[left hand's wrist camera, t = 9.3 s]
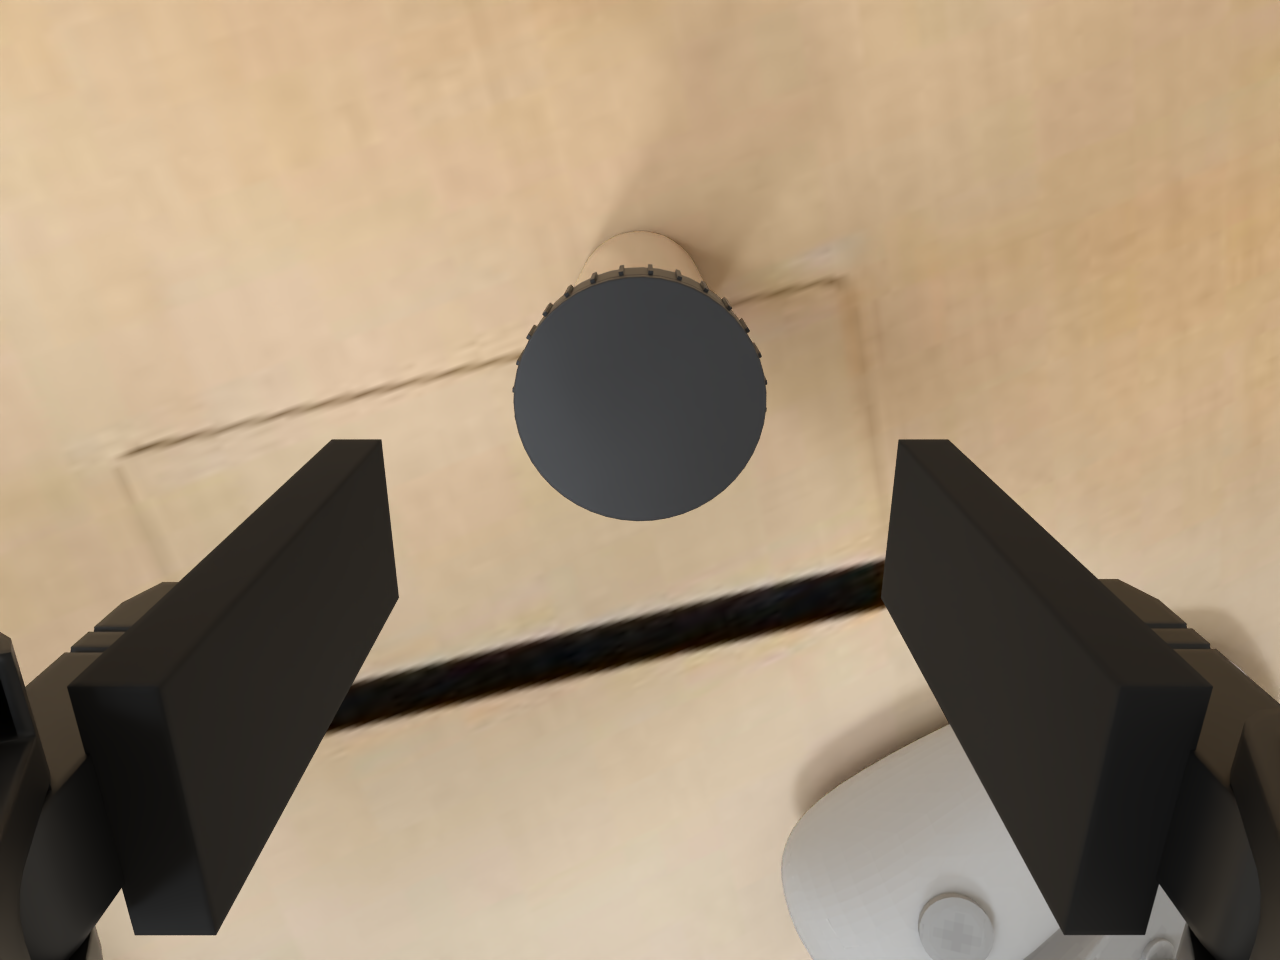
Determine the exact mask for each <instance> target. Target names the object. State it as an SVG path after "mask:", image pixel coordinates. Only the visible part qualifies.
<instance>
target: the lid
mask: <svg viewBox="0 0 1280 960" xmlns="http://www.w3.org/2000/svg"><path fill="white" fill-rule="evenodd" d="M731 309H732V307H731V306H730V304H729V302H728V301H727V299H726V298H725V297H724V298H723V299H720V298H719V297H718V296H717V295H716V294H715V293H713V292H712V291H711V290H709V289H708V287H707V285H706V283H705V282H704V281H701V282H700V283H698V282H696V281H695V280H693V279H691V278H689V277H686V276H683V275H681V272H680V270H677V269H676V270H675V272H671V271H667V270H663V269H657V268H653V265H652V264H648V268H646V267H636V268H624V265H620V267H619V269H618V270H612V271H609V272H605V273H602V274H599V275H598V274H597V272H595V273H592V276H591V278H590V279H588V280H585V281H583V282H581V283H580V284H578V285H577V286H575V287H574V288H573V286H572V285H570V286H569V287H568V288H567V290H566V292H565V294H564V295H563V296H562V297H561V298H560V299H558V300H557V301H556V302H555V303H554V304H553V305H552V304H551V303H549V305H548V306H547V307H546V309H545V311H544V312H543V314H542V315H543V316H544V317H543V318H542V320H541V321H540V323H539V324H538V326H535V325H534V326H533V327H532V329H531V331H530V332H529V334H528V336H527V337H526V338H527V339H528V340H529V341H528V343H527V345H526V347H525V349H524V350H523V352H522V353H521V355H520V357H519V358H518V360H517V363H516V365H519V366H518V369H517V373H516V379H515V384H514V387H513V392H514V412H515V420H516V424H517V428H518V432H519V435H520V438H521V441H522V443H523V446H524V448H525V450H526V452H527V454H528V456H529V458H530V460H531V462H532V463H533V464H534V466H535V467H536V469H537V470H538V471H539V473H540V474H541V475H542V476H543V478H544V479H545V480H546V481H547V482H548V483H549V484H550V485H551V486H552V487H553V488H554V489H556V490H557V491H558V492H559V493H560V494H562V495H563V496H564V497H566V498H567V499H569V500H570V501H572V502H573V503H575V504H577V505H578V506H581V507H583V508H585V509H587V510H589V511H591V512H594V513H597V514H600V515H603V516H606V517H610V518H615V519H620V520H630V521H652V520H659V519H665V518H670V517H673V516H677V515H680V514H684V513H686V512H688V511H691V510H693V509H696V508H698V507H700V506H701V505H703V504H705V503H707V502H708V501H710V500H712V499H713V498H714V497H716V496H717V495H718V494H720V493H721V492H722V491H724V490H725V489H726V488H727V487H728V486H729V485H730V484H731V483H732V482H733V481H734V480H735V479H736V478H737V476H738V475H739V474H740V473H741V471H742V470H743V469H744V468H745V466H746V465H747V463H748V461H749V460H750V458H751V456H752V455H753V453H754V450H755V448H756V446H757V444H758V441H759V439H760V435H761V432H762V428H763V425H764V419H765V412H766V409H767V408H766V385H767V380H766V378H765V376H764V373H763V369H762V365H761V362H760V359H759V358H761V357H762V356H761V353H760V352H759V350H758V348H757V347H756V345H755V343H752V341H751V340H750V338H749V336H748V335H747V333H748V332H749V331H750V330H749V329H748V327H747V325H746V324H745V322H744V321H743V319H742V318H741V319H740V320H739V319H738V318H737V316H736V315H735V314H734V313H733V311H732V310H731Z"/></svg>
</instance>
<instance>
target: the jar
mask: <svg viewBox="0 0 1280 960" xmlns="http://www.w3.org/2000/svg"><path fill="white" fill-rule="evenodd" d="M648 264H652V265H653V268H657V269H663V270H667V271H671V272H675V270H676V269H677V270H680V272H681V275H683V276H686V277H689V278H691V279H693V280H695V281H696V282H698V283H700V282H701V281H703V279H702V277H701V275H700V273H699V271H698V269H697V267H696V265H695V263H694V262H693V260H692V258H691V257H690V256H689V254H688V253H687V252H686V251H685V250H684V249H683V248H682V247H681V246H680V245H679V244H677V243H676V242H675V241H673V240H671V239H669V238H668V237H666V236H663V235H660V234H658V233H653V232H647V231H632V232H627V233H623V234H620V235H617V236H615V237H613V238H610V239H609V240H607V241H606V242H604V243H603V244H601V245H600V246H599V247H598V248H597V249H596V250H595V251H594V252H593V253H592V254H591V255H590V257H589V258H588V260H587V261H586V263H585V265H584V267H583V269H582V271H581V273H580V275H579V277H578V279H577V281H576V283H575V285H574V287H575V286H577V285H578V284H580V283H581V282H583V281H585V280H588V279H590V278H591V276H592V273H595V272H597V274H598V275H599V274H602V273H605V272H609V271H612V270H618V269H619V267H620V265H624V268H636V267H646V268H648ZM574 287H573V288H574Z"/></svg>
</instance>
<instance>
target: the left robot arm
mask: <svg viewBox="0 0 1280 960" xmlns="http://www.w3.org/2000/svg"><path fill="white" fill-rule="evenodd" d="M398 598H399V595H398V586H397V577H396V568H395V559H394V550H393V540H392V531H391V522H390V513H389V504H388V495H387V486H386V477H385V468H384V459H383V450H382V441H381V440H331V441H330V442H329V443H328V444H327V445H325V446H324V447H323V448H322V449H321V450H320V451H319V452H318V453H317V454H316V455H315V456H314V457H313V458H311V459H310V460H309V461H308V462H307V463H306V464H305V465H304V466H303V467H302V468H301V469H300V470H299V471H298V472H296V473H295V474H294V475H293V476H292V477H291V478H290V479H289V480H288V481H287V482H286V483H285V484H284V485H283V486H281V487H280V488H279V489H278V490H277V491H276V492H275V493H274V494H273V495H272V496H271V497H270V498H269V499H267V500H266V501H265V502H264V503H263V504H262V505H261V506H260V507H259V508H258V509H257V510H256V511H255V512H254V513H252V514H251V515H250V516H249V517H248V518H247V519H246V520H245V521H244V522H243V523H242V524H241V525H240V526H238V527H237V528H236V529H235V530H234V531H233V532H232V533H231V534H230V535H229V536H228V537H227V538H226V539H225V540H223V541H222V542H221V543H220V544H219V545H218V546H217V547H216V548H215V549H214V550H213V551H212V552H211V553H210V554H208V555H207V556H206V557H205V558H204V559H203V560H202V561H201V562H200V563H199V564H198V565H197V566H196V567H194V568H193V569H192V570H191V571H190V572H189V573H188V574H187V575H186V576H185V577H184V578H183V579H182V580H181V581H179V582H162V583H160V584H158V585H156V586H154V587H152V588H150V589H148V590H146V591H144V592H142V593H140V594H138V595H136V596H135V597H133V598H131V599H129V600H127V601H125V602H123V603H121V604H120V605H119V606H118V607H117V608H116V609H114V610H113V611H112V612H111V613H110V614H109V615H107V616H106V617H105V618H104V619H103V620H102V621H101V622H99V623H98V624H97V625H96V626H95V627H94V632H88V633H87V634H86V635H84V636H83V637H82V638H81V639H80V640H79V641H78V642H76V643H75V644H74V645H73V646H72V647H71V652H70V653H64V654H63V655H61V656H60V657H59V658H58V659H57V660H56V661H55V662H53V663H52V664H51V665H50V666H49V667H48V668H47V669H45V670H44V671H43V672H42V673H41V674H40V675H38V676H37V677H36V678H35V679H34V680H33V681H32V682H30V683H29V684H28V685H27V686H26V687H25V685H24V682H23V679H22V675H21V672H20V668H19V665H18V662H17V658H16V655H15V651H14V648H13V645H12V641H11V638H9V637H7V636H6V635H4V634H2V633H1V632H0V960H103V957H102V949H101V944H100V940H99V937H98V934H97V930H96V927H95V925H96V923H97V922H98V921H99V919H100V918H101V916H102V915H103V913H104V912H105V911H106V909H107V908H108V906H109V905H110V904H111V902H112V901H113V899H114V898H115V896H116V895H117V894H118V892H119V891H120V889H121V888H122V890H123V894H124V897H125V901H126V905H127V908H128V912H129V915H130V919H131V923H132V926H133V930H134V934H135V935H216V934H217V932H218V931H219V929H220V927H221V925H222V923H223V921H224V919H225V918H226V916H227V914H228V912H229V910H230V908H231V907H232V905H233V903H234V901H235V899H236V897H237V895H238V894H239V892H240V890H241V888H242V886H243V884H244V883H245V881H246V879H247V877H248V875H249V873H250V871H251V870H252V868H253V866H254V864H255V862H256V860H257V859H258V857H259V855H260V853H261V851H262V849H263V847H264V846H265V844H266V842H267V840H268V838H269V836H270V835H271V833H272V831H273V829H274V827H275V825H276V823H277V822H278V820H279V818H280V816H281V814H282V812H283V811H284V809H285V807H286V805H287V803H288V801H289V800H290V798H291V796H292V794H293V792H294V790H295V788H296V787H297V785H298V783H299V781H300V779H301V777H302V776H303V774H304V772H305V770H306V768H307V766H308V764H309V763H310V761H311V759H312V757H313V755H314V753H315V752H316V750H317V748H318V746H319V744H320V742H321V740H322V739H323V737H324V735H325V733H326V731H327V729H328V728H329V726H330V724H331V722H332V720H333V718H334V716H335V715H336V713H337V711H338V709H339V707H340V705H341V704H342V702H343V700H344V698H345V696H346V694H347V692H348V691H349V689H350V687H351V685H352V683H353V681H354V680H355V678H356V676H357V674H358V672H359V670H360V668H361V667H362V665H363V663H364V661H365V659H366V657H367V656H368V654H369V652H370V650H371V648H372V646H373V644H374V643H375V641H376V639H377V637H378V635H379V633H380V632H381V630H382V628H383V626H384V624H385V622H386V620H387V619H388V617H389V615H390V613H391V611H392V609H393V608H394V606H395V604H396V602H397V600H398ZM881 598H882V600H883V602H884V604H885V606H886V608H887V609H888V611H889V613H890V615H891V617H892V619H893V620H894V622H895V624H896V626H897V628H898V630H899V632H900V633H901V635H902V637H903V639H904V641H905V643H906V644H907V646H908V648H909V650H910V652H911V654H912V656H913V657H914V659H915V661H916V663H917V665H918V667H919V668H920V670H921V672H922V674H923V676H924V678H925V680H926V681H927V683H928V685H929V687H930V689H931V691H932V692H933V694H934V696H935V698H936V700H937V702H938V704H939V705H940V707H941V709H942V711H943V713H944V715H945V716H946V718H947V720H948V722H949V724H950V726H951V728H952V729H953V731H954V733H955V735H956V737H957V739H958V740H959V742H960V744H961V746H962V748H963V750H964V752H965V753H966V755H967V757H968V759H969V761H970V763H971V764H972V766H973V768H974V770H975V772H976V774H977V776H978V777H979V779H980V781H981V783H982V785H983V787H984V788H985V790H986V792H987V794H988V796H989V798H990V800H991V801H992V803H993V805H994V807H995V809H996V811H997V812H998V814H999V816H1000V818H1001V820H1002V822H1003V823H1004V825H1005V827H1006V829H1007V831H1008V833H1009V835H1010V836H1011V838H1012V840H1013V842H1014V844H1015V846H1016V847H1017V849H1018V851H1019V853H1020V855H1021V857H1022V859H1023V860H1024V862H1025V864H1026V866H1027V868H1028V870H1029V871H1030V873H1031V875H1032V877H1033V879H1034V881H1035V883H1036V884H1037V886H1038V888H1039V890H1040V892H1041V894H1042V895H1043V897H1044V899H1045V901H1046V903H1047V905H1048V907H1049V908H1050V910H1051V912H1052V914H1053V916H1054V918H1055V919H1056V921H1057V923H1058V925H1059V927H1060V929H1061V931H1062V932H1063V934H1064V935H1145V934H1146V930H1147V926H1148V923H1149V919H1150V915H1151V912H1152V908H1153V905H1154V901H1155V897H1156V894H1157V890H1158V886H1159V885H1160V886H1161V887H1162V889H1163V890H1164V892H1165V893H1166V894H1167V896H1168V897H1169V899H1170V900H1171V901H1172V903H1173V904H1174V906H1175V907H1176V909H1177V910H1178V911H1179V913H1180V914H1181V916H1182V917H1183V918H1184V920H1185V921H1186V923H1185V927H1184V930H1183V934H1182V937H1181V940H1180V944H1179V947H1178V951H1177V954H1176V957H1175V960H1280V704H1279V703H1278V702H1277V701H1276V700H1274V699H1273V698H1272V697H1271V696H1270V695H1269V694H1268V693H1266V692H1265V691H1264V690H1263V689H1262V688H1261V687H1259V686H1258V685H1257V684H1256V683H1255V682H1254V681H1252V680H1251V679H1250V678H1249V677H1248V676H1247V675H1245V674H1244V673H1243V672H1242V671H1241V670H1240V669H1239V668H1237V667H1236V666H1235V665H1234V664H1233V663H1232V662H1230V661H1229V660H1228V659H1227V658H1226V657H1225V656H1223V655H1222V654H1221V653H1220V652H1219V651H1218V650H1216V649H1210V643H1208V642H1207V641H1206V640H1205V639H1204V638H1203V637H1201V636H1200V635H1199V634H1198V633H1197V632H1196V631H1194V630H1193V629H1187V626H1186V625H1187V624H1186V623H1185V622H1184V621H1183V620H1182V619H1181V618H1179V617H1178V616H1177V615H1176V614H1175V613H1174V612H1172V611H1171V610H1170V609H1169V608H1168V607H1167V606H1165V605H1164V604H1163V603H1162V602H1161V601H1160V600H1158V599H1156V598H1154V597H1152V596H1150V595H1148V594H1146V593H1144V592H1142V591H1140V590H1138V589H1136V588H1134V587H1133V586H1131V585H1129V584H1127V583H1125V582H1123V581H1121V580H1119V579H1097V578H1096V577H1095V576H1094V575H1093V574H1092V573H1091V572H1090V571H1089V570H1088V569H1087V568H1086V567H1084V566H1083V565H1082V564H1081V563H1080V562H1079V561H1078V560H1077V559H1076V558H1075V557H1074V556H1073V555H1072V554H1070V553H1069V552H1068V551H1067V550H1066V549H1065V548H1064V547H1063V546H1062V545H1061V544H1060V543H1059V542H1058V541H1057V540H1055V539H1054V538H1053V537H1052V536H1051V535H1050V534H1049V533H1048V532H1047V531H1046V530H1045V529H1044V528H1043V527H1042V526H1040V525H1039V524H1038V523H1037V522H1036V521H1035V520H1034V519H1033V518H1032V517H1031V516H1030V515H1029V514H1028V513H1026V512H1025V511H1024V510H1023V509H1022V508H1021V507H1020V506H1019V505H1018V504H1017V503H1016V502H1015V501H1014V500H1013V499H1011V498H1010V497H1009V496H1008V495H1007V494H1006V493H1005V492H1004V491H1003V490H1002V489H1001V488H1000V487H999V486H997V485H996V484H995V483H994V482H993V481H992V480H991V479H990V478H989V477H988V476H987V475H986V474H985V473H984V472H982V471H981V470H980V469H979V468H978V467H977V466H976V465H975V464H974V463H973V462H972V461H971V460H970V459H969V458H967V457H966V456H965V455H964V454H963V453H962V452H961V451H960V450H959V449H958V448H957V447H956V446H955V445H953V444H952V443H951V442H950V441H949V440H899V441H898V450H897V459H896V468H895V477H894V486H893V495H892V504H891V513H890V522H889V531H888V540H887V550H886V559H885V568H884V577H883V586H882V595H881Z"/></svg>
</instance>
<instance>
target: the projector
mask: <svg viewBox="0 0 1280 960" xmlns="http://www.w3.org/2000/svg"><path fill="white" fill-rule="evenodd" d="M1229 661H1230V660H1229ZM1230 662H1231V661H1230ZM1232 663H1233V662H1232ZM1233 664H1234V663H1233ZM1234 665H1235V664H1234ZM1235 666H1236V667H1237V668H1239V667H1238V666H1237V665H1235ZM1239 669H1240V668H1239ZM1240 670H1241V669H1240ZM1241 671H1242V670H1241ZM1242 672H1243V671H1242ZM1243 673H1244V672H1243ZM1244 674H1245V673H1244ZM1245 675H1246V674H1245ZM781 874H782V884H783V890H784V895H785V899H786V903H787V906H788V910H789V913H790V916H791V919H792V921H793V924H794V926H795V929H796V931H797V933H798V935H799V937H800V939H801V941H802V943H803V944H804V946H805V948H806V949H807V951H808V953H809V954H810V956H811V957H812V959H813V960H1175V957H1176V954H1177V951H1178V947H1179V944H1180V940H1181V937H1182V934H1183V930H1184V927H1185V923H1186V921H1185V920H1184V918H1183V917H1182V916H1181V914H1180V913H1179V911H1178V910H1177V909H1176V907H1175V906H1174V904H1173V903H1172V901H1171V900H1170V899H1169V897H1168V896H1167V894H1166V893H1165V892H1164V890H1163V889H1162V887H1161V886H1160V885H1159V886H1158V890H1157V894H1156V897H1155V901H1154V905H1153V908H1152V912H1151V915H1150V919H1149V923H1148V926H1147V930H1146V934H1145V935H1064V934H1063V932H1062V931H1061V929H1060V927H1059V925H1058V923H1057V921H1056V919H1055V918H1054V916H1053V914H1052V912H1051V910H1050V908H1049V907H1048V905H1047V903H1046V901H1045V899H1044V897H1043V895H1042V894H1041V892H1040V890H1039V888H1038V886H1037V884H1036V883H1035V881H1034V879H1033V877H1032V875H1031V873H1030V871H1029V870H1028V868H1027V866H1026V864H1025V862H1024V860H1023V859H1022V857H1021V855H1020V853H1019V851H1018V849H1017V847H1016V846H1015V844H1014V842H1013V840H1012V838H1011V836H1010V835H1009V833H1008V831H1007V829H1006V827H1005V825H1004V823H1003V822H1002V820H1001V818H1000V816H999V814H998V812H997V811H996V809H995V807H994V805H993V803H992V801H991V800H990V798H989V796H988V794H987V792H986V790H985V788H984V787H983V785H982V783H981V781H980V779H979V777H978V776H977V774H976V772H975V770H974V768H973V766H972V764H971V763H970V761H969V759H968V757H967V755H966V753H965V752H964V750H963V748H962V746H961V744H960V742H959V740H958V739H957V737H956V735H955V733H954V731H953V729H952V728H951V726H950V724H949V725H946V726H944V727H942V728H940V729H938V730H936V731H934V732H932V733H930V734H928V735H926V736H924V737H922V738H920V739H918V740H916V741H914V742H913V743H911V744H909V745H907V746H905V747H903V748H901V749H899V750H897V751H896V752H894V753H892V754H890V755H888V756H886V757H885V758H883V759H881V760H880V761H878V762H876V763H874V764H873V765H871V766H869V767H867V768H866V769H864V770H862V771H861V772H859V773H857V774H856V775H854V776H853V777H851V778H850V779H848V780H846V781H845V782H843V783H842V784H840V785H839V786H837V787H836V788H835V789H833V790H832V791H831V792H829V793H828V794H826V795H825V796H824V797H822V798H821V799H820V800H819V801H818V802H817V803H816V804H814V805H813V806H812V807H811V808H810V809H809V810H808V811H807V812H806V813H805V814H804V815H803V816H802V818H801V819H800V820H799V821H798V822H797V824H796V825H795V827H794V828H793V830H792V832H791V834H790V836H789V838H788V840H787V842H786V845H785V848H784V852H783V856H782V866H781Z"/></svg>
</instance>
